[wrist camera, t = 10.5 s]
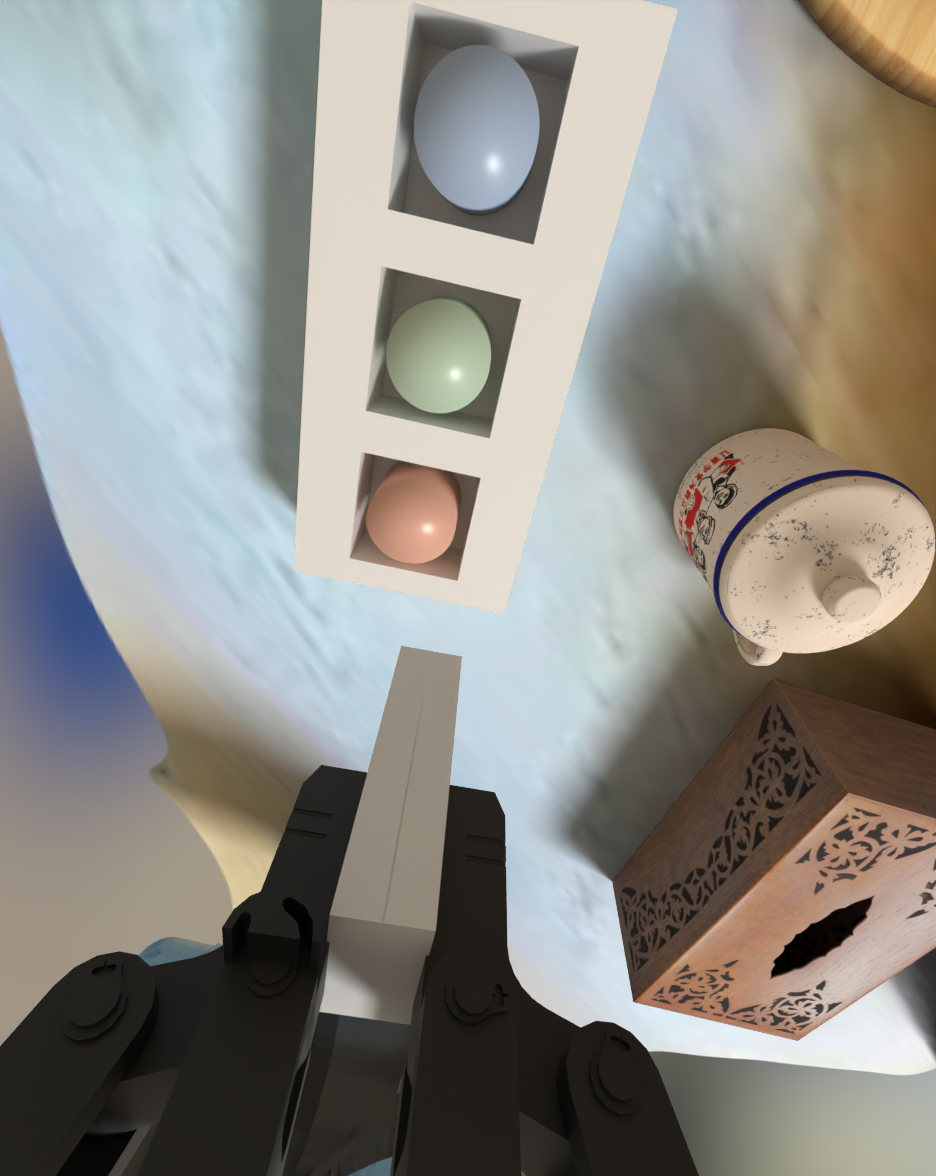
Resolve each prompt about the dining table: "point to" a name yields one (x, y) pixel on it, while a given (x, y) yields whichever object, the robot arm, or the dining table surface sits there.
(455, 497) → the button terracotta
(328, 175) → the tray
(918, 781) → the tissue box cover
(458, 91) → the button slate
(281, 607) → the dining table surface
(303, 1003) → the robot arm
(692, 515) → the teacup with lid
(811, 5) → the wooden plate with food
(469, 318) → the button sage
